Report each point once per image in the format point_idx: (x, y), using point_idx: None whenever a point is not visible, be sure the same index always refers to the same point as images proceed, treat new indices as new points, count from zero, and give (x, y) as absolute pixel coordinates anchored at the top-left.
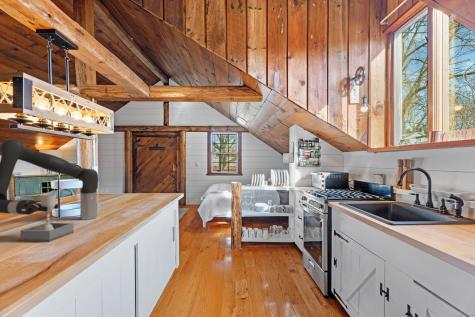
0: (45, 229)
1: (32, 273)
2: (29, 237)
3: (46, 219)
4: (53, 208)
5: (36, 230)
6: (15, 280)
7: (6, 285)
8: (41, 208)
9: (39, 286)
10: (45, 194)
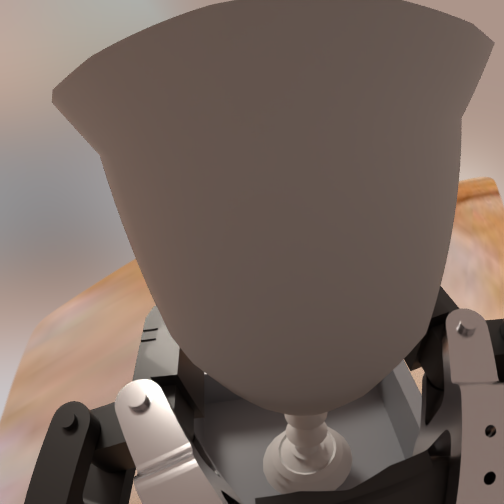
0: (341, 438)
1: (472, 205)
2: None
3: (320, 430)
4: (201, 376)
5: (417, 413)
6: (492, 204)
7: (500, 202)
8: None
9: (466, 181)
10: (177, 77)
